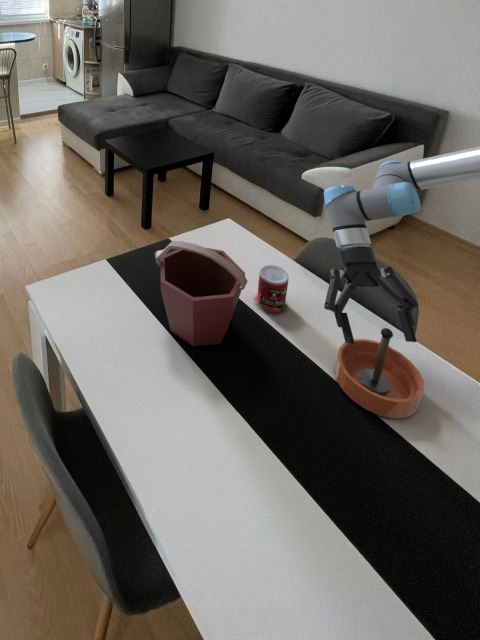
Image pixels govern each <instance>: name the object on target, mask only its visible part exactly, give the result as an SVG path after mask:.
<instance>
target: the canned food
mask: <svg viewBox="0 0 480 640" xmlns="http://www.w3.org/2000/svg"><path fill="white" fill-rule="evenodd" d="M289 277H290V276H289V274H288V272H287V270H285V269H284V268H283V267H280V266H278V265H274V264H267V265H264V266H262V267H261V268H260V270H259V276H258V283H257V293H256V295H257V296H256V300H257V304H258V305H259V307H260V308H261V309H262V310H264V311H266V312H267V313H274V314H275V313H280V312H281V311H283V310H284V308H285V307H286V299H287V292H288V286H289Z"/></svg>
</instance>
